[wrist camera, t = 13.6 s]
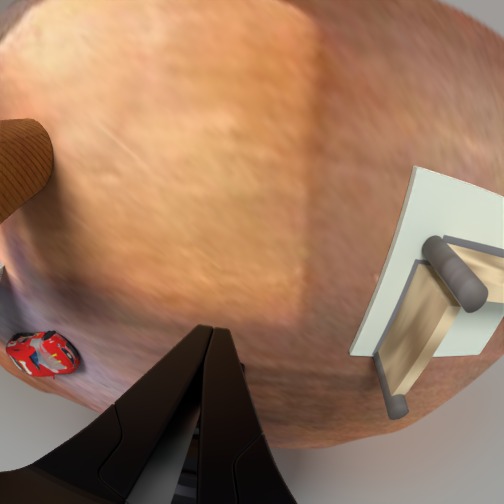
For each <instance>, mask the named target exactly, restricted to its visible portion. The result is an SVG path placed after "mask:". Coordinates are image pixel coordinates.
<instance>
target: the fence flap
mask: <svg viewBox="0 0 504 504" xmlns="http://www.w3.org/2000/svg"><path fill="white" fill-rule="evenodd" d="M422 252H423V255H424V256H425V257H426V259H427V260H428V261H429V262H430V264H431V265H432V266H433V268H434V269H435V270H436V271H437V273H438V274H439V275H440V277H441V278H442V279H443V281H444V282H445V283H446V285H447V286H448V288H449V289H450V290H451V292H452V293H453V294H454V296H455V297H456V299H457V300H458V302H459V303H460V304H461V306H462V307H463V309H464V310H465V311H466V312H467V313H473V312H475V311H477V310H479V309H480V308H481V307H482V306H483V305H484V303H485V302H486V301H490V302H498V303H504V258H501V257H498V256H494V255H491V254H487V253H483V252H479V251H476V250H472V249H468V248H464V247H460V246H456V245H452V244H448V243H446V242H445V241H444V240H443V239H442V238H441V237H440V236H437V235H434V236H431V237H429V238H428V239H427V240H426V241H425V243H424V244H423V248H422Z"/></svg>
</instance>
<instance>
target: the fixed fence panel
mask: <svg viewBox="0 0 504 504" xmlns="http://www.w3.org/2000/svg"><path fill="white" fill-rule="evenodd" d="M460 309H461V305H460V304H459V303H458V301H457V300H456V298H455V297H454V295H453V294H452V293H451V291H450V290H449V288H448V287H447V286H446V284H445V283H444V282H443V280H442V279H441V278H440V276H439V275H438V274H437V272H436V271H435V270H434V268H433V267H432V266H430V265H424V264H418V267H417V269H416V272H415V274H414V276H413V279H412V281H411V284H410V286H409V288H408V291H407V293H406V295H405V297H404V300H403V302H402V304H401V306H400V308H399V311H398V313H397V315H396V317H395V319H394V321H393V323H392V325H391V327H390V329H389V331H388V333H387V335H386V337H385V339H384V341H383V343H382V345H381V347H380V348H379V350H378V352H376V353H375V354H374V355H373V359H374V363H375V366H376V370H377V373H378V377H379V381H380V385H381V388H382V392H383V396H384V400H385V404H386V408H387V412H388V416H389V419H391V420H395V419H399V418H402V417H404V416H405V415H406V414H407V413H408V412H409V410H408V406H407V403H406V400H405V396H404V395H405V394H406V393H407V392H408V390H409V389H410V388H411V386H412V385H413V384H414V382H415V381H416V379H417V378H418V377H419V375H420V374H421V372H422V371H423V369H424V368H425V367H426V365H427V364H428V362H429V361H430V359H431V358H432V356H433V355H434V353H435V351H436V350H437V348H438V347H439V345H440V344H441V342H442V340H443V339H444V337H445V335H446V334H447V332H448V330H449V329H450V327H451V325H452V323H453V322H454V320H455V318H456V316H457V315H458V313H459V311H460Z"/></svg>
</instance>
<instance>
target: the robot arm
mask: <svg viewBox="0 0 504 504" xmlns="http://www.w3.org/2000/svg"><path fill="white" fill-rule="evenodd" d="M243 372H244V365H243V364H242V363H240V361H239V358H238V355H237V351H236V348H235V345H234V342H233V339H232V335H231V332H230V330H229V329H227V328H221V327H215V328H214V329H213V327H212V326H208V325H202V324H199V325H197V326H196V327H195V328H194V329H192V330H191V331H190V332H189V333H188V334H187V335H186V336H185V337H184V338H183V339H182V340H181V341H180V342H179V343H178V344H177V345H176V346H174V347H173V348H172V349H171V350H170V351H169V352H168V353H167V354H166V355H165V356H164V357H163V358H162V359H161V360H160V361H159V362H157V363H156V364H155V365H154V366H153V367H152V368H151V369H150V370H149V371H148V372H147V373H146V374H145V375H144V376H142V377H141V378H140V379H139V380H138V381H137V382H136V383H135V384H134V385H133V386H132V387H131V388H130V389H128V390H127V391H126V392H125V393H124V394H123V395H122V396H121V397H120V398H119V399H118V400H116V401H115V405H114V404H112V405H111V406H110V407H109V408H108V409H107V410H105V411H104V412H103V413H102V414H101V415H100V416H99V417H98V418H96V419H95V420H94V421H93V422H92V423H91V424H89V425H88V426H87V427H85V428H84V429H83V430H81V431H80V432H79V433H77V434H76V435H74V436H73V437H72V438H70V439H69V440H67V441H66V442H64V443H63V444H61V445H60V446H58V447H57V448H55V449H54V450H52V451H51V452H49V453H48V454H47V455H45V456H43V457H42V458H40V459H39V460H37V461H35V462H34V463H32V464H30V465H28V466H26V467H23V468H20V469H16V470H11V471H4V472H0V504H297V502H296V500H295V499H294V497H293V495H292V494H291V492H290V490H289V489H288V487H287V485H286V483H285V481H284V479H283V477H282V475H281V473H280V472H279V470H278V468H277V466H276V463H275V461H274V458H273V456H272V453H271V451H270V449H269V446H268V443H267V440H266V438H265V435H264V434H263V430H262V427H261V424H260V421H259V418H258V415H257V412H256V409H255V406H254V403H253V400H252V398H251V395H250V392H249V389H248V385H247V382H246V379H245V376H244V373H243Z"/></svg>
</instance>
